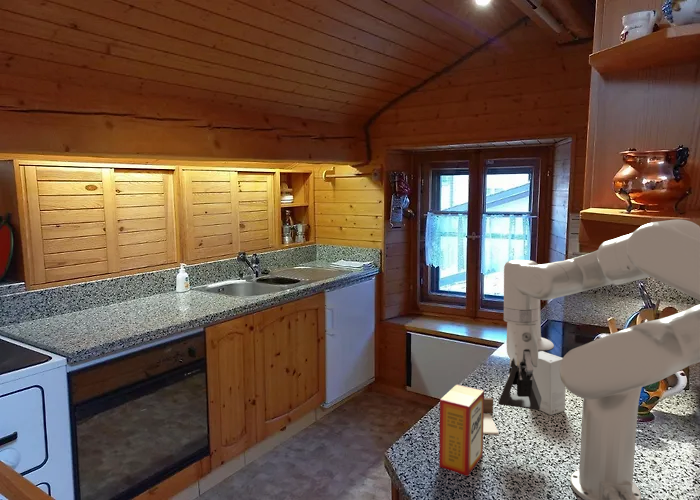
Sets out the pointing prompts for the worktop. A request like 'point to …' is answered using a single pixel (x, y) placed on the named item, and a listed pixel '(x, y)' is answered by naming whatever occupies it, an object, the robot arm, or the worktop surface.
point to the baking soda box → (461, 429)
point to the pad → (489, 425)
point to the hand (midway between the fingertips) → (520, 389)
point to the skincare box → (550, 383)
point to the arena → (488, 405)
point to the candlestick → (542, 342)
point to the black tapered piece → (515, 400)
